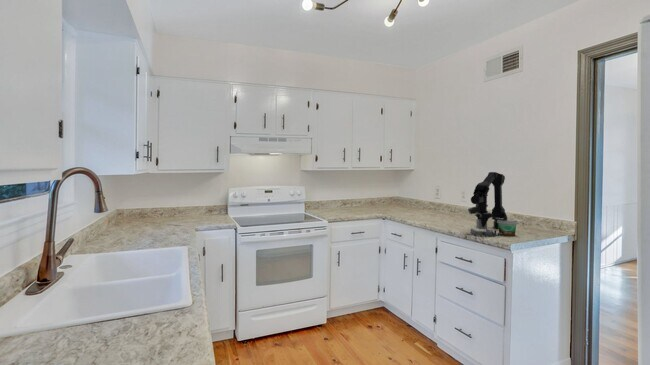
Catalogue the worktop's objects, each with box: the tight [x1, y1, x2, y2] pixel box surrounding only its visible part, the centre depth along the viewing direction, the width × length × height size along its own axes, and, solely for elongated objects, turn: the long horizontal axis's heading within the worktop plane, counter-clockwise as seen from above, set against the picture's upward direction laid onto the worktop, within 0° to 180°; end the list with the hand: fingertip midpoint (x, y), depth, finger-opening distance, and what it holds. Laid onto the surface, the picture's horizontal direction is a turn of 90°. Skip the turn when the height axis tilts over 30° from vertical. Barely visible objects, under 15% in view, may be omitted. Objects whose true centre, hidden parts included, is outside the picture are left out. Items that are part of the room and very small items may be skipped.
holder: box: [470, 228, 494, 236], centre depth 210 cm, size 11×10×2 cm
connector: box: [475, 218, 488, 230], centre depth 210 cm, size 5×5×6 cm
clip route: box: [481, 229, 501, 238], centre depth 206 cm, size 11×11×2 cm
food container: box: [497, 219, 519, 237], centre depth 204 cm, size 12×6×10 cm, turn 80°
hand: (481, 226), depth 210 cm, fingers closed on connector, 5 cm apart
